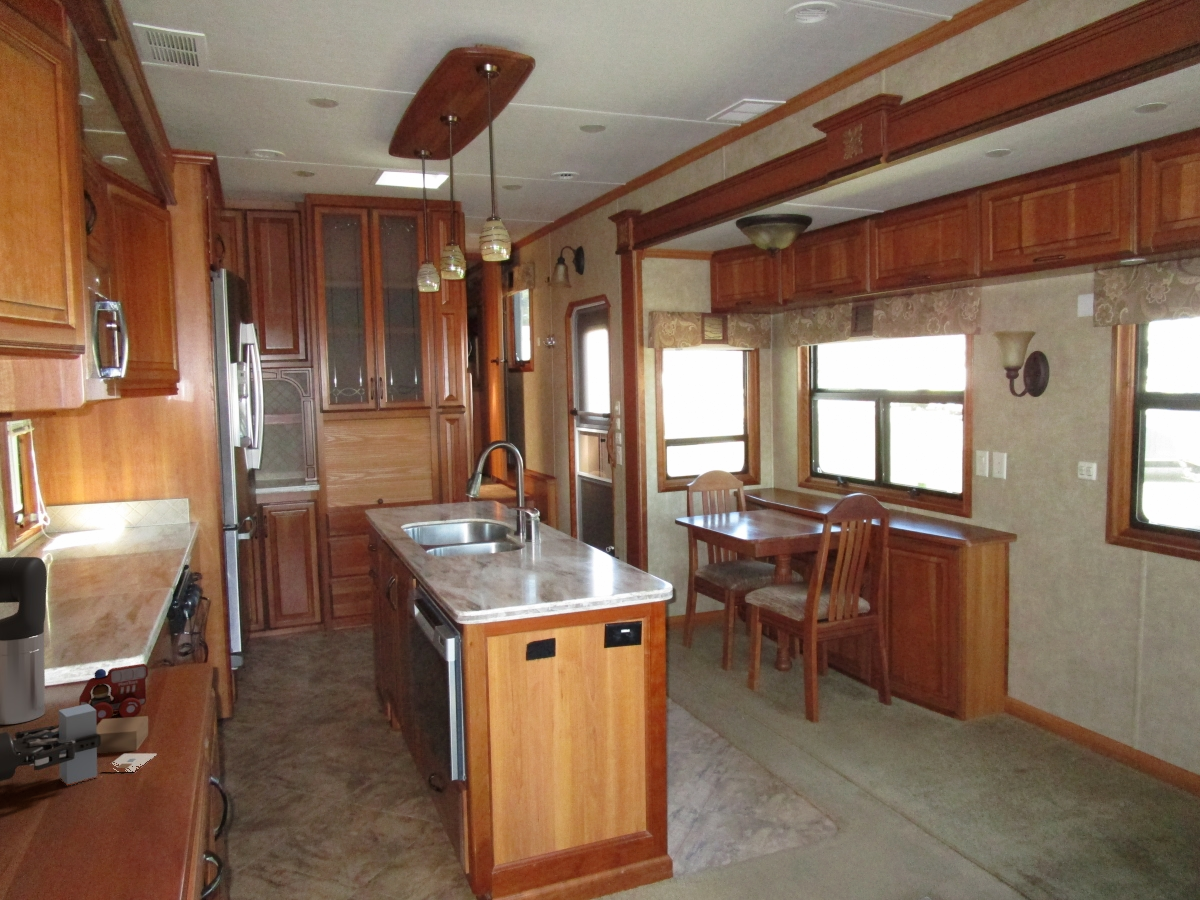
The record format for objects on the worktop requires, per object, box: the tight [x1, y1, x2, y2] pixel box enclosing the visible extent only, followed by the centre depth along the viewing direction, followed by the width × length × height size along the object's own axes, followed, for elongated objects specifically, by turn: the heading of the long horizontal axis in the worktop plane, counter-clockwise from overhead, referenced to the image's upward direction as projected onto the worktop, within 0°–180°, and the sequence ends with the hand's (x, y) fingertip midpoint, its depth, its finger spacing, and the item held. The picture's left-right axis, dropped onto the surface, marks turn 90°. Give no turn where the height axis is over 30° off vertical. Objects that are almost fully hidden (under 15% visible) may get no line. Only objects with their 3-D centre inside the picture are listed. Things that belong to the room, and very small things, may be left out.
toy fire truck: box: [78, 663, 149, 724], centre depth 173 cm, size 7×12×10 cm, turn 122°
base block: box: [96, 715, 149, 754], centre depth 159 cm, size 8×8×4 cm
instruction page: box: [111, 753, 157, 773], centre depth 150 cm, size 6×8×1 cm
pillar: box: [58, 703, 98, 784], centre depth 144 cm, size 4×4×12 cm
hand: (93, 734), depth 146 cm, fingers open, 5 cm apart
